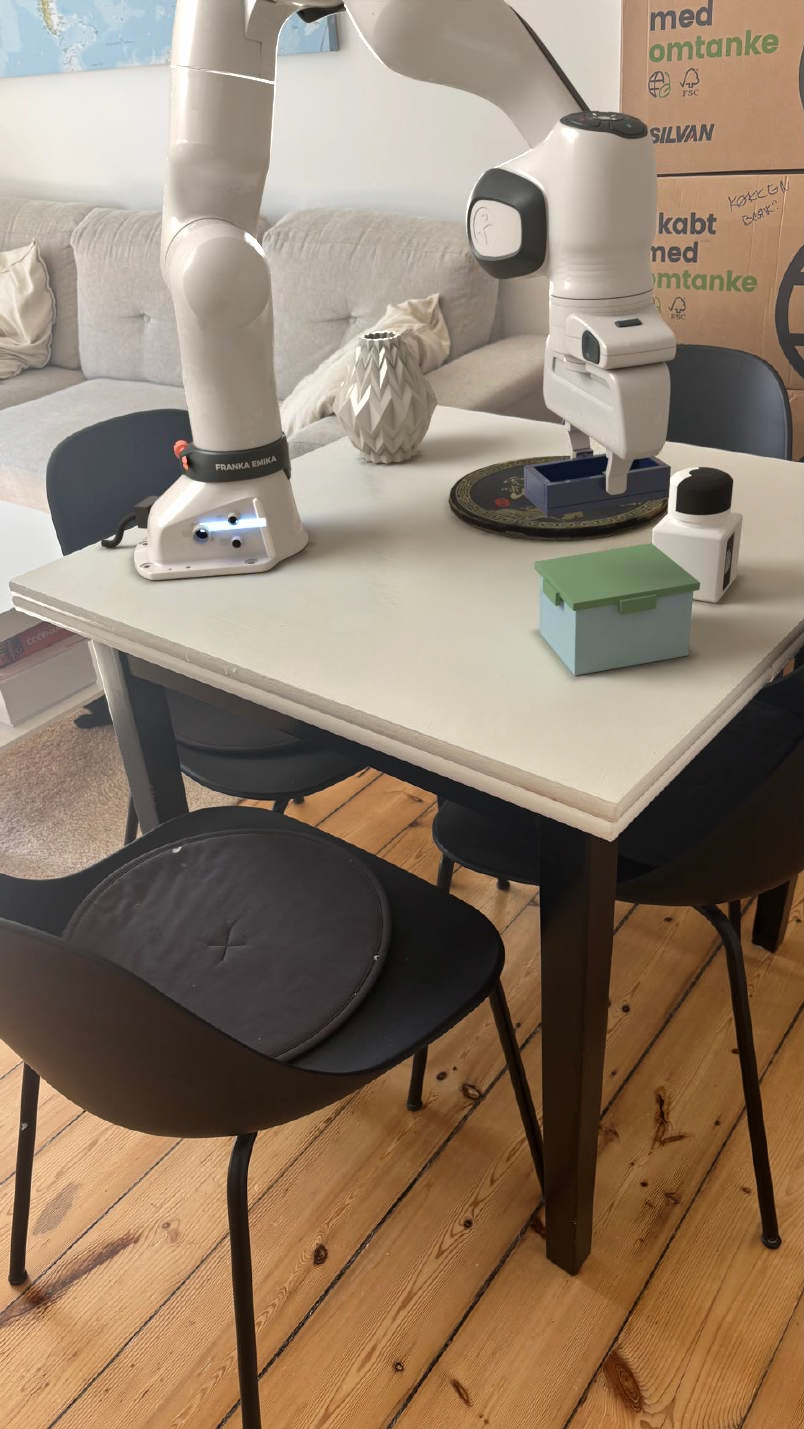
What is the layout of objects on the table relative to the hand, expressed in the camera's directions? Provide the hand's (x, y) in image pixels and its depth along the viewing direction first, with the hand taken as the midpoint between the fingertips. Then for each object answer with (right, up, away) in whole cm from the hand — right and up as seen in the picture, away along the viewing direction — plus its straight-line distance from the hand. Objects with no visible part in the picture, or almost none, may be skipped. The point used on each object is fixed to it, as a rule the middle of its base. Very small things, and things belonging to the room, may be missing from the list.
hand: (597, 479), depth 99 cm
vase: (-20, +19, +68) cm, 74 cm away
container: (+14, -8, +20) cm, 26 cm away
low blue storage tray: (0, -1, +1) cm, 2 cm away
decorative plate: (+3, +7, +46) cm, 47 cm away
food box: (+3, -15, +9) cm, 17 cm away
